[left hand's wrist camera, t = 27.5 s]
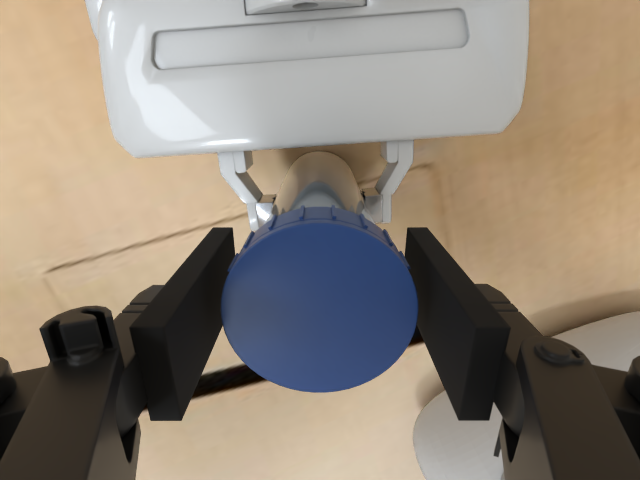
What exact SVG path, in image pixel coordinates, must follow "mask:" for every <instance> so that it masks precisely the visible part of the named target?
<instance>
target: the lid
mask: <svg viewBox="0 0 640 480" xmlns="http://www.w3.org/2000/svg"><path fill="white" fill-rule="evenodd" d="M409 269H410V266H409V264H408V262H407V261H406V259H405V257H404V255H403V253H402V251H400V252H399V251H398V250H397V248H396V246H395V244H394V243H393V242H392V240H391V238H390V236H389V234H388V232H387V231H386V230H385V229H384V230H383V231H382V229H380V228H379V227H378V226H377V225H375V224H374V223H373V222H371V221H369V220H368V219H366V218H365V217H364V214H362V213H360V215H358V214H355V213H353V212H350V211H347V210H343V209H339V208H335V205H332V206H331V207H307V208H305V206H304V205H303V206H301V208H300V209H296V210H292V211H289V212H286V213H284V214H281V215H279V216H276V214H275V215H273V217H272V219H271V220H270V221H268V222H266V223H265V224H264V225H263V226H261V227H260V228H259V229H258V230H257V231H256V232H255V233H254V232H253V231H252V232H251V233H250V235H249V237H248V238H247V240H246V242H245V244H244V246H243V248H242V250H241V252H240V253H239V254H238V253H237V254H236V255H235V257H234V259H233V261H232V263H231V265H230V266H229V268H228V272H229V274H228V276H227V279H226V281H225V284H224V287H223V291H222V297H221V318H222V323H223V327H224V331H225V334H226V336H227V338H228V341H229V343H230V344H231V346H232V348H233V349H234V351H235V352H236V354H237V355H238V356H239V357H240V359H241V360H242V361H243V362H244V363H245V364H246V365H247V366H248V367H249V368H251V369H252V370H253V371H255V372H256V373H257V374H259V375H260V376H262V377H264V378H265V379H267V380H269V381H271V382H273V383H275V384H278V385H280V386H283V387H286V388H289V389H294V390H298V391H305V392H334V391H341V390H345V389H350V388H353V387H356V386H359V385H361V384H364V383H366V382H368V381H370V380H372V379H374V378H375V377H377V376H379V375H380V374H382V373H383V372H384V371H386V370H387V369H388V368H390V367H391V366H392V365H393V364H394V363H395V362H396V361H397V360H398V359H399V357H400V356H401V355H402V354H403V352H404V351H405V349H406V348H407V346H408V344H409V343H410V341H411V338H412V336H413V334H414V331H415V327H416V323H417V318H418V297H417V291H416V287H415V284H414V282H413V279H412V276H411V274H410V272H409V271H408V270H409Z"/></svg>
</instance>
